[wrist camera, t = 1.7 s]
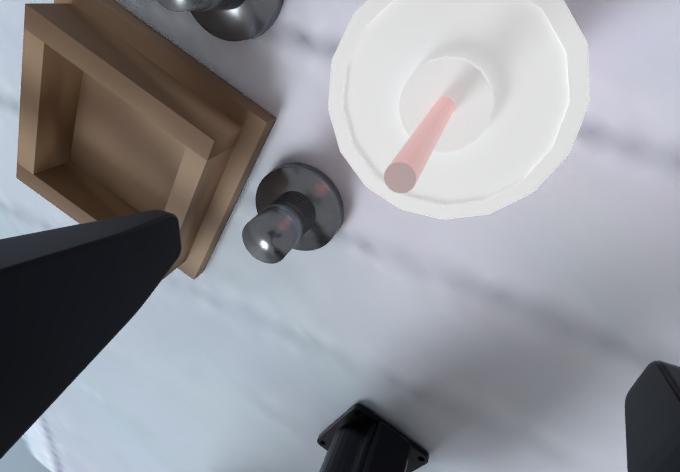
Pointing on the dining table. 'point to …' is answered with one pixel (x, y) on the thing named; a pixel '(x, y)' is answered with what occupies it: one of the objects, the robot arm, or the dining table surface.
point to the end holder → (131, 124)
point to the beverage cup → (458, 100)
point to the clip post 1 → (230, 16)
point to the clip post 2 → (293, 213)
